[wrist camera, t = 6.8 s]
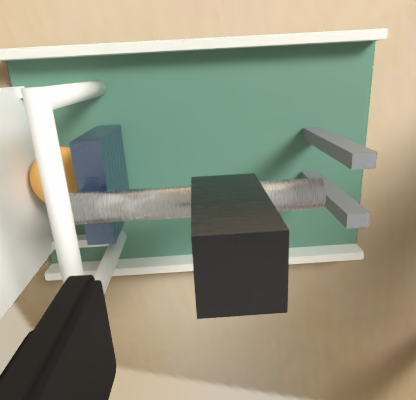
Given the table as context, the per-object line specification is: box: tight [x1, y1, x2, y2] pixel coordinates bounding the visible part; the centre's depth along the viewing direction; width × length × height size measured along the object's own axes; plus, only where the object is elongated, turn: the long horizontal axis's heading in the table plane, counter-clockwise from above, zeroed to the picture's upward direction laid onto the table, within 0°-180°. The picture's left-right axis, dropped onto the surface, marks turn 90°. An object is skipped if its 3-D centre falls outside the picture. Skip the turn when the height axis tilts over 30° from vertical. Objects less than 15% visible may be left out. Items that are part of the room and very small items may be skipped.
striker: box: [69, 124, 326, 319], centre depth 19 cm, size 13×6×15 cm, turn 93°
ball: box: [30, 147, 78, 202], centre depth 24 cm, size 4×4×4 cm
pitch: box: [0, 28, 388, 320], centre depth 21 cm, size 24×16×12 cm, turn 93°
